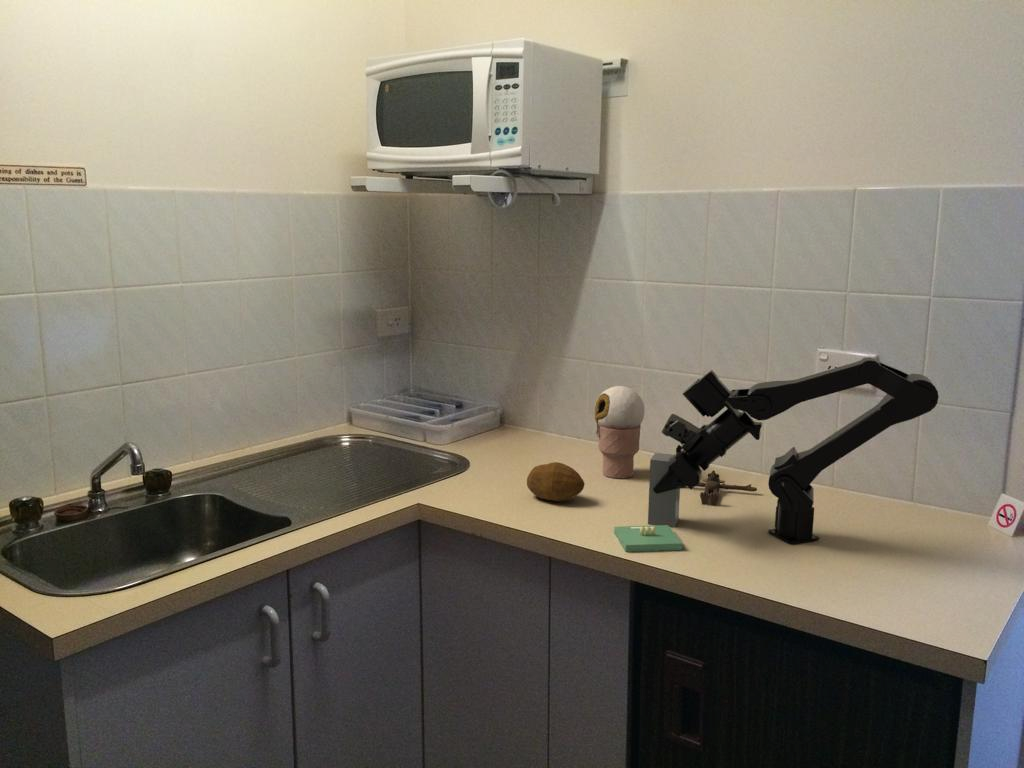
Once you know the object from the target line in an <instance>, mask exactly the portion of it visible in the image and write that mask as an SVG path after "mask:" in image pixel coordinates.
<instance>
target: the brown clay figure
mask: <svg viewBox="0 0 1024 768" xmlns="http://www.w3.org/2000/svg"><path fill="white" fill-rule="evenodd" d="M695 487H699V488H700V487H701V488H704V491H701V492H699V497H700V502H701V505H704V506H706V505H708V504H709V503H708V502H709V499H710V506H714V507H715V506H716V505H718V501H719V499H720V494H719V493H720V490H726V491H727V490H732V491H733V490H735V491H745V492H752V493H753V492H757V491H758V489H757V487H756V486H755V487H754V486H752V484H748V485H737V484H726V481H725V480H722V479H720V475H719V474H718V473H716V471H715V470H712V471H711V472H710V473H708V474H707V478H704V479H702V482H701V481H700V482H699V484H697V485H696V486H695Z"/></svg>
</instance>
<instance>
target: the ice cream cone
mask: <svg viewBox="0 0 1024 768" xmlns="http://www.w3.org/2000/svg"><path fill="white" fill-rule="evenodd" d="M645 411H646V409H645V404H644V402H643V399H642V397H641V396H640V394H639V393H638V392H637V391H635V390H634V389H632V388H630V387H628V386H624V385H615V386H612V387H608V388H607V389H606V390H604V391H602V392H601V394H599V395H598V397H597V399H596V401H595V404H594V419H595V422H596V432H595V436H596V437H597V438H598V445H597V446H598V450H599V451H600V453H601V454H602V475H603V476H604V475H605V477H607V478H611V479H619V480H620V478H623V479H625V478H626V479H628V478H630V477H632V476H633V475H634V467H635V466H634V462H635V461H634V459H635V457H634V456H635V455H636V454H638V453H639V451H640V437H641V424H642V423H643V420H644V419H645Z"/></svg>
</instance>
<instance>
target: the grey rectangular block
mask: <svg viewBox="0 0 1024 768" xmlns="http://www.w3.org/2000/svg"><path fill="white" fill-rule="evenodd" d="M674 455H675V454H670V453H660V452H654V453H653V455H652V457H651V458H650V460H649V462H650V463H649V482H648V484H649V489H648V511H647V512H648V513H647V516H648V517H647V525H651V526H656V525H668V526H669V527H670V528H676V525H677V523H678V522H679V518H680V502H681V501H680V499H681V497H680V496H681V488H678V489H674V490H670V491H666V492H662V493H658V494H656V493H655V492H654V491H653V488H654V487H655V486H656V485H657V484H658V482H659V481H660V480H661V479H662V477H663V476H664V475H665V474H666V473H667V471H668V470H669V465H668V461H669V459H670V458H672V457H673V456H674Z"/></svg>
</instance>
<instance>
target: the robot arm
mask: <svg viewBox="0 0 1024 768" xmlns="http://www.w3.org/2000/svg"><path fill="white" fill-rule="evenodd" d="M864 385H870V386H873V387H874V388H877V389H878V390H880V391H882V392H884V394H886V395H884V396H883V398H882V399H881V400H880V401H879V402H877V404H876V405H875V406H873V407H872V408H870V409H868V410H867V411H866V412H864V413H863V414H861V415H860V416H858V417H857V418H855V419H854V420H852V421H850V422H849V423H847V424H846V425H845V426H843V427H842V428H840V429H838V430H836V431H835V432H834V433H831V435H829V436H827V438H825V439H822V441H820V442H819V443H817V444H816V445H814V446H812V447H811V448H810V449H807V450H803V451H800V452H798V451H797V449H796V447H794V446H793V447H792V448H790V449H789V450H788V451H786V453H784V454H783V455H781V456H778V457H775V459H774V460H775V461H774V464H772V466H771V468H770V470H769V477H768V483H767V485H768V489H769V490H770V492H771V494H772V495H774V497H775V498H777V501H776V507H775V519H774V528H769V529H768V531H767V532H768V533H769V534H770V535H772V536H773V537H776V538H778V539H780V540H782V541H784V542H785V543H788V544H790V545H793V544H795V545H796V544H800V543H807V542H814V541H819V540H820V536H818V535H817V534H814V532H813V530H814V519H815V517H814V516H815V507H814V506H813V505H814V499H815V498H814V491H815V490H814V487H813V486H812V485H811V483H812V482H813V481H814V480H816V479H817V477H818V476H819V475H820V473H821V472H822V471H824V470H825V469H827V468H828V467H831V465H832V464H834V463H836V462H838V461H839V460H840V459H842V458H844V457H845V456H847V455H849V454H851V453H852V452H853V451H854V450H856V449H857V448H859V447H861V446H862V445H864V444H865V443H866V442H869V441H870V440H871V439H873V438H874V437H876V436H878V435H879V434H880V433H882V432H884V431H885V430H887V429H889V428H890V427H892V426H894V425H897V424H900V423H905V422H908V421H911V420H914V419H916V418H918V417H920V416H923V415H925V414H927V413H929V412H931V411H932V410H933V409H935V407H936V406H937V405H938V401H939V391H938V390H937V388H936V386H935V385H934V383H933V382H932V380H931V379H929V378H928V377H927V376H926V375H923V374H921V373H911V374H908V373H907V372H904V371H902V370H899V369H898V368H895V367H892V366H889V365H888V364H886V363H883V362H880V361H879V360H878V359H876V358H875V357H870V356H869V357H864V358H862V359H860V360H858V361H855V362H852V363H848V364H844V365H841V366H838V367H834V368H831V369H828V370H827V369H826V370H824V371H820V372H817V373H814V374H810V375H806V376H803V377H799V378H797V379H790V380H772V381H765V382H763V381H762V382H756V383H755V384H754V385H752V386H750V387H749V388H740V389H739V388H738V389H728V387H727V386H726V385H725V384H724V383H723V382H722V381H721V380H720V379H719V377H718V375H717V374H716V373H715V371H714V370H709V371H708V372H707V373H706V374H704V375H703V376H702V377H700V378H697V380H695V381H694V382H693V383H692V384H691V385H690V386H688V388H686V389H685V390H684V391H683V393H682V395H683V397H684V398H685V399H686V400H687V401H688V402H689V403H690V404H691V405H692V407H694V408H695V410H696V411H697V412H698V413H699V414H700V415H701V417H705V416H706V417H707V418H709V417H711V418H713V417H715V416H716V415H717V414H719V413H720V412H721V411H722V410H723V409H724V408H725V407H726V409H725V410H724V411H722V413H720V414H719V416H717V417H716V418H714V419H713V420H712V421H711V422H710V423H708V424H703V425H702V426H701V427H698V426H696V425H695V424H693V423H692V422H689V421H688V420H686V419H685V418H683V417H681V416H678V415H677V414H674V413H671V414H670V416H669V417H668V419H667V421H666V422H665V424H664V426H663V428H662V430H661V434H662V435H664V436H665V437H670V438H671V439H673V440H675V441H677V442H679V443H680V444H681V445H680V444H678V445H677V447H676V448H675V454H673V455H674V456H673V457H672V458H670V459H669V461H668V465H669V470H668V471H667V473H666V474H665V475H664V476H663V477H662V479H661V480H660V481H659V482H658V484H657V485H656V486H655V487H654V488H653V491H654V492H655V493H656V494H658V493H662V492H666V491H670V490H674V489H678V488H680V489H681V488H682V489H683V488H688V489H690V490H693V489H694V488H695V487H697V486H696V485H697V484H699V482H701V480H702V475H703V474H702V473H703V472H705V471H706V470H707V469H709V467H710V465H711V464H712V463H714V462H715V461H716V460H717V459H719V458H722V457H723V456H725V455H726V454H727V452H728V450H730V449H731V448H732V447H733V446H734V445H736V444H737V443H738V442H740V441H741V440H742V439H743V438H745V437H746V436H747V435H748V434H751V436H752V437H753V438H754V439H755V440H757V441H759V440H760V438H761V429H762V426H763V423H762V421H767V420H769V419H772V418H774V417H776V416H777V415H780V414H782V413H784V412H786V411H788V410H789V409H791V408H792V407H795V406H796V405H798V404H801V403H803V402H806V401H807V402H808V401H810V400H813V399H817V398H822V397H824V396H829V395H832V394H835V393H839V392H842V391H845V390H850V389H853V388H856V387H860V386H864ZM753 419H754V420H756V421H754V420H753ZM759 421H760V422H759ZM701 469H702V470H703V471H702V470H701Z"/></svg>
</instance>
